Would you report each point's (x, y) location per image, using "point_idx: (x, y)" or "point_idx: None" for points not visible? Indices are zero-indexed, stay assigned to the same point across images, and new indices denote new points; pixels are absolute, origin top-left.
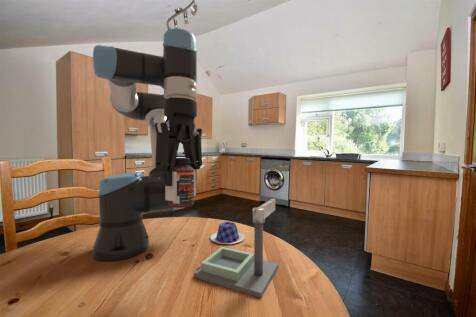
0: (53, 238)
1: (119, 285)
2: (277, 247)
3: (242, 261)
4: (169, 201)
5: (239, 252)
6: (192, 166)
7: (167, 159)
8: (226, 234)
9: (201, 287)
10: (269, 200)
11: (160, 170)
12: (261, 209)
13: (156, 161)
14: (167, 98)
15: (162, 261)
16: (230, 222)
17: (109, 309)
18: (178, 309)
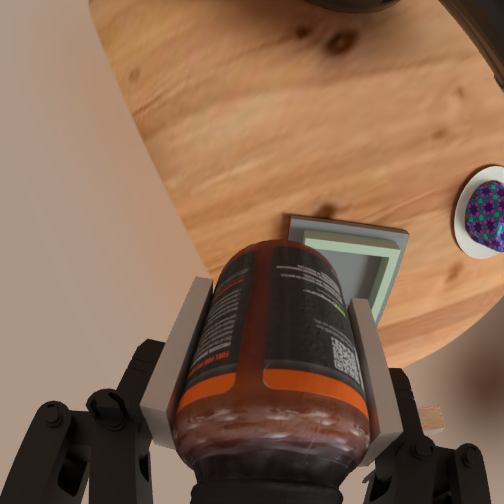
0: None
1: (200, 80)
2: (444, 327)
3: (366, 294)
4: (218, 280)
5: (376, 297)
6: (381, 475)
7: (79, 489)
8: (480, 227)
9: None
10: (427, 430)
11: (101, 393)
12: None
13: (29, 440)
14: None
15: (329, 97)
16: None
17: (145, 131)
18: (197, 238)
